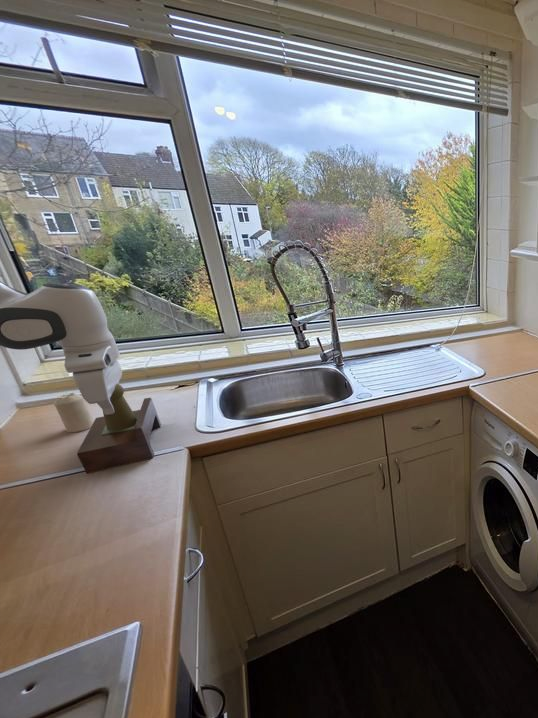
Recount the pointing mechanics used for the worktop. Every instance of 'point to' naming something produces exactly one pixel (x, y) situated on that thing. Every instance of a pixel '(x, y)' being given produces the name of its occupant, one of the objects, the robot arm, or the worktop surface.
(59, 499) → the worktop surface
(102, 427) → the brown block
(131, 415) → the cork
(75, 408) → the candle
